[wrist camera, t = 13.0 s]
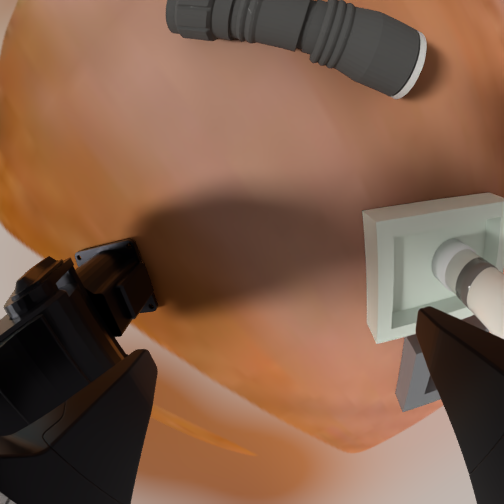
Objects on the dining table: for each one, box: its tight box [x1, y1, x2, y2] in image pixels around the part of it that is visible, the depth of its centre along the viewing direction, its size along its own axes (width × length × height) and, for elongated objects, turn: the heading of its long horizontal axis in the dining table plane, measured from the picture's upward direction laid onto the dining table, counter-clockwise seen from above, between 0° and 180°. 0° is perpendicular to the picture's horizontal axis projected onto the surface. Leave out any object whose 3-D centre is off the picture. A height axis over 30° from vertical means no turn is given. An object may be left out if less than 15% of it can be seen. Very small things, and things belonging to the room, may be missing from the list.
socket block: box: [395, 315, 489, 412], centre depth 23 cm, size 9×9×3 cm
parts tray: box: [362, 192, 504, 344], centre depth 19 cm, size 13×10×3 cm
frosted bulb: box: [431, 238, 504, 339], centre depth 14 cm, size 4×4×13 cm
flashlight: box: [166, 0, 427, 99], centre depth 13 cm, size 15×5×5 cm, turn 75°
